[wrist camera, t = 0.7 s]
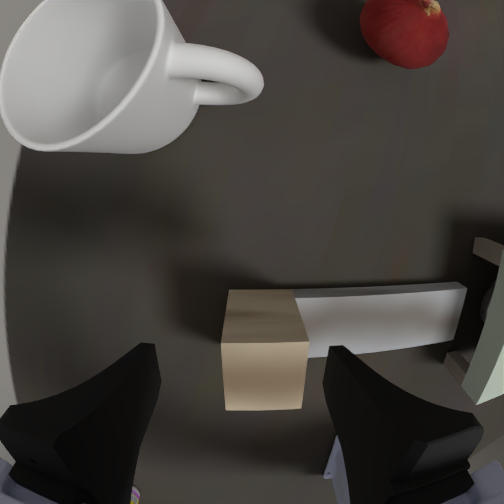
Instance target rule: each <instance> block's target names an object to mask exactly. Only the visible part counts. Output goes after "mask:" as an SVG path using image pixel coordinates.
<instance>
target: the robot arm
mask: <svg viewBox="0 0 504 504" xmlns="http://www.w3.org/2000/svg"><path fill="white" fill-rule="evenodd" d="M160 385H161V377H160V371H159V366H158V361H157V355H156V350H155V344H150V343H140V344H138V345H137V346H136V347H134V348H133V349H132V350H130V351H129V352H128V353H127V354H125V355H124V356H123V357H121V358H120V359H119V360H117V361H116V362H115V363H113V364H112V365H111V366H109V367H108V368H106V369H105V370H103V371H102V372H100V373H99V374H97V375H96V376H94V377H93V378H91V379H89V380H87V381H86V382H84V383H82V384H80V385H78V386H76V387H74V388H72V389H69V390H67V391H64V392H62V393H60V394H57V395H54V396H51V397H48V398H45V399H41V400H38V401H33V402H29V403H23V404H17V405H10V406H9V408H8V409H7V410H6V412H5V413H4V414H3V416H2V417H1V418H0V440H1V442H2V444H3V445H4V446H5V448H6V449H7V450H8V451H9V453H10V454H11V456H12V457H13V458H14V459H15V461H16V462H15V464H14V466H12V465H11V464H9V463H8V462H6V461H5V460H3V459H1V458H0V504H131V495H132V487H133V480H134V474H135V469H136V464H137V459H138V454H139V450H140V446H141V443H142V439H143V437H144V434H145V431H146V429H147V426H148V423H149V421H150V418H151V415H152V413H153V410H154V407H155V405H156V402H157V399H158V394H159V390H160ZM323 388H324V394H325V399H326V403H327V406H328V409H329V412H330V415H331V418H332V421H333V424H334V427H335V430H336V433H337V435H336V438H335V441H334V444H333V447H332V451H331V454H330V457H329V460H328V463H327V466H326V469H325V472H324V475H323V477H324V478H325V479H327V478H332V482H333V486H334V491H335V495H336V500H337V504H504V470H503V469H502V467H501V466H500V464H499V462H498V461H497V460H495V461H493V462H491V463H489V464H488V465H486V466H484V467H482V468H480V469H478V470H476V471H475V472H474V473H472V474H471V475H469V473H468V471H467V470H468V469H469V468H470V464H469V462H468V460H467V459H468V458H469V456H470V455H471V454H472V452H473V451H474V450H475V448H476V447H477V445H478V444H479V442H480V441H481V439H482V436H483V433H484V430H483V427H482V426H481V424H480V423H479V421H478V420H477V419H476V417H475V416H474V415H473V413H468V412H463V411H458V410H453V409H449V408H446V407H442V406H439V405H436V404H433V403H430V402H428V401H425V400H423V399H421V398H418V397H416V396H414V395H412V394H410V393H408V392H406V391H404V390H402V389H401V388H399V387H397V386H395V385H394V384H392V383H391V382H389V381H388V380H386V379H385V378H383V377H382V376H381V375H379V374H378V373H376V372H375V371H374V370H373V369H371V368H370V367H369V366H368V365H366V364H365V363H364V362H363V361H361V360H360V359H359V358H358V357H357V356H356V355H354V354H353V353H352V352H351V351H350V350H349V349H347V348H346V347H345V346H344V345H337V346H329V350H328V356H327V362H326V367H325V373H324V378H323Z"/></svg>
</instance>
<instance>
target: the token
mask: <svg viewBox="0 0 504 504" xmlns="http://www.w3.org/2000/svg"><path fill="white" fill-rule="evenodd" d="M495 284H496V281H494V282H493V283H492V284H491V285H490V287H489V288H488V289H487V291H486V293H485V295H484V297H483V299H482V302H481V307H480V317H481V319H482V321H483V322H484V323H485V321H486V318H487V314H488V311H489V307H490V304H491V300H492V296H493V292H494V288H495Z"/></svg>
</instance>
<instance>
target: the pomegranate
mask: <svg viewBox="0 0 504 504" xmlns="http://www.w3.org/2000/svg"><path fill="white" fill-rule="evenodd" d="M359 19H360V26H361V31H362V35H363V37H364V38H365V40H366V42H367V44H368V46H369V47H370V48H371V49H372V50H373V51H374V52H375V53H376V54H377V55H378V56H380V57H382V58H383V59H385V60H386V61H388V62H390V63H392V64H394V65H396V66H400V67H403V68H407V69H415V68H420V67H425V66H429V65H431V64H432V63H433V62H435V61H436V60H437V59H438V58H439V57H440V56H441V55H442V54H443V53H444V51H445V50H446V46H447V42H448V38H449V31H448V24H447V19H446V17H445V15H444V13H443V12H442V10H441V8H440V6H439V4H438V2H437V1H435V0H367V1H366V2H365V4H364V7H363V9H362V12H361V15H360V17H359Z"/></svg>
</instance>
